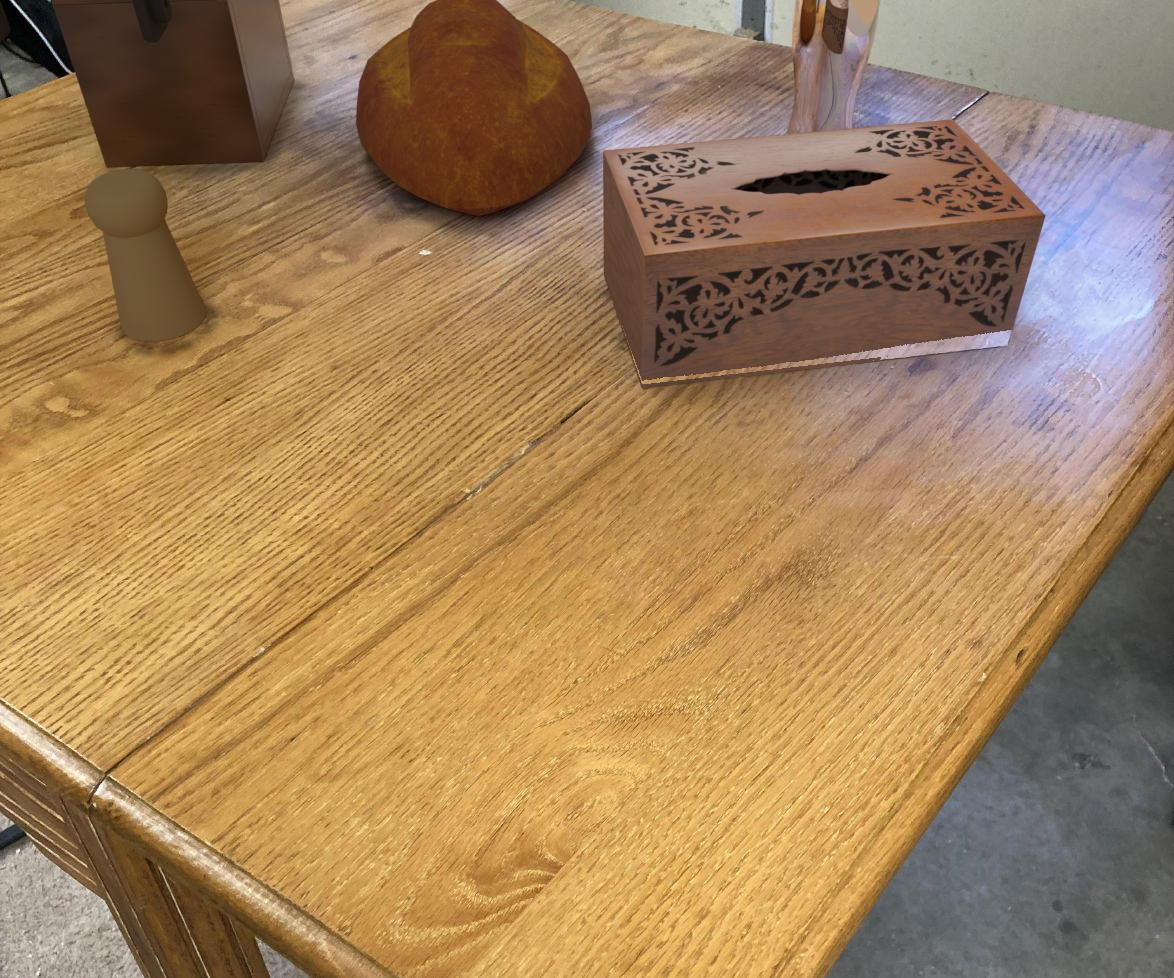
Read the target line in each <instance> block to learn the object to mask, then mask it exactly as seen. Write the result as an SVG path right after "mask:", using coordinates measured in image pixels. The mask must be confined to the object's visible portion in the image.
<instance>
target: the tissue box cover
mask: <svg viewBox="0 0 1174 978" xmlns="http://www.w3.org/2000/svg"><path fill="white" fill-rule="evenodd" d="M602 205H603V206H602V207H603V208H602V210H603V211H602V213H603V215H602V219H603V220H602V222H603V223H602V224H603V225H602V226H603V230H602V232H603V235H602V236H603V277H604V280H605V283H606V287H607V289H608V292H609V295H610V297H611V301H612V304H613V307H614V310H615V313H616V316H617V318H618V321H619V325H620V327H621V331H622V333H623V337H624V339H625V342H626V345H627V348H628V352H629V354H630V356H631V360H632V363H633V366H634V369H635V372H636V375H637V378H638V382H639V384H640V386H641V389H644V388H645V389H647V388H655V387H662V386H671V385H673V386H674V385H680V384H690V383H699V382H708V381H717V380H725V379H733V378H742V377H743V378H744V377H751V376H760V375H768V374H777V373H787V372H795V371H803V370H812V369H813V370H814V369H820V368H821V369H822V368H830V367H840V366H849V365H854V364H855V365H856V364H865V363H874V362H881V361H880V359H881V357H877V358H869V359H860V360H851V361H843V362H834V363H825V364H817V365H808V366H799V367H790V368H782V369H773V370H764V371H756V372H747V373H738V374H729V375H721V376H712V377H703V378H695V379H686V380H677V381H668V382H660V383H651V384H642V383H641V380H640V377H639V374H640V376H641V379H642V381H644V380H646V379H647V380H652V379H657V378H659V379H660V378H663V377H676V376H684V375H685V376H689V375H691V374H693V375H696V374H704V373H707V374H708V373H711V372H718V371H723V370H731V369H742V368H748V367H751V368H752V367H759V366H761V367H763V366H767V365H775V364H780V363H786V362H799V361H805V360H814V359H819V358H825V357H826V358H828V357H833V356H839V355H844V354H845V355H847V354H852V353H859V352H862V351H863V352H865V351H870V350H872V351H873V350H878V349H883V348H891V347H895V346H900V345H901V346H903V345H905V344H906V345H907V344H915V343H922V342H924V343H925V342H929V341H937V340H938V341H939V340H941V339H942V340H944V339H948V338H949V339H951V338H955V337H962V336H963V337H965V336H974V335H978V334H980V335H981V334H985V333H986V334H987V333H991V332H992V333H994V332H1000V331H1007V330H1012V331H1014V326H1015V325H1016V324H1015V323H1016V320H1017V316H1018V313H1019V309H1020V306H1021V302H1022V299H1023V297H1024V296H1023V295H1024V292H1025V289H1026V285H1027V282H1028V278H1029V275H1030V271H1031V269H1032V264H1033V261H1034V257H1035V255H1036V251H1037V247H1038V244H1039V241H1040V238H1041V237H1040V236H1041V234H1042V229H1043V227H1044V224H1045V223H1044V222H1045V220H1046V214H1045V213H1044V212H1043V211H1042V209H1041V208H1039V206H1037V204H1035V202H1034V201H1033V200H1032V199H1031V198H1030V197H1029V196H1028V195H1027V194H1026V193H1025V192H1024V191H1023V189H1021V188H1020V186H1018V185H1017V183H1015V182H1014V180H1012V178H1010V176H1009V175H1008V174H1007V173H1006V172H1005V171H1004V170H1003V169H1002V168H1001V167H1000V166H999V165H998V164H997V163H996V162H995V161H994V159H992V158H991V157H990V156H989V154H987V153H986V152H985V151H984V150H983V148H982V147H980V146H979V144H978V143H977V142H976V141H975V140H974V139H973V138H972V137H971V136H970V135H969V134H968V133H967V132H966V131H965V130H964V129H963V128H962V126H961V125H959V123H958V122H957V121H955V120H954V119H953V118H952V119H942V120H941V119H940V120H931V121H919V122H908V123H895V124H887V125H873V126H864V127H863V126H862V127H854V128H850V129H839V130H828V131H816V132H805V133H794V134H786V133H784V134H773V135H763V136H762V135H761V136H751V137H740V138H739V137H738V138H728V139H716V140H707V141H706V140H705V141H695V142H684V143H671V144H660V145H650V146H649V145H648V146H637V147H628V148H627V147H626V148H617V149H616V148H615V149H606V150H602ZM622 326H623V327H622ZM623 329H624V330H623ZM624 332H625V333H624ZM625 334H626V336H625ZM626 337H627V339H626ZM627 340H628V342H627ZM628 343H629V345H628ZM629 346H630V348H631V351H632V354H633V356H634V359H635V362H636V365H637V368H638V370H639V374H638V371H637V368H636V366H635V363H634V360H633V357H632V354H631V351H630V348H629ZM887 357H888V356H887ZM873 360H874V361H873ZM885 361H888V360H887V359H886V360H885Z"/></svg>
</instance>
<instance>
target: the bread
mask: <svg viewBox="0 0 1174 978" xmlns="http://www.w3.org/2000/svg"><path fill="white" fill-rule="evenodd" d="M592 116H593V115H592V110H591V104H590V100H589V97H588V95H587V93H586V91H585V88H584V86H583V82H582V80H581V79H580V77H579V75H578V72H577V71H576V69H575V67H574V65H573V63H572V61H571V59H570V57H569V56H568V54H566V53H565V51H563V50H562V49H561V48H560V47H559V46H557V44H555V43H554V42H553V41H551V40H550V39H548V38H547V37H546V36H545V35H543V34H542V33H540V32H539V31H537V30H536V29H535V28H533V27H531V26H530V25H528V24H526V23H524V22H523V21H522V20H520V19H518V18H517V17H516V16H515V15H514V14H513V13H511V11H509V10H508V8H506V7H505V6H504V5H503V4H501V3H500V2H499V1H498V0H433V1H430V2H428V3H427V5H426V6H424V7H423V8H422V10H420V11H419V12H418V13H417V14H416V16H415V18H414V20H413V22H412V24H411V26H410V27H408V28H406V29H404V30H403V31H402V32H400V33H399V34H396V35H395V36H394V37H392V38H391V39H390V40H389V41H388V42H386V43H385V44H384V45H382V46H381V47H380V48H379V49H378V50H377V51H376V52H375V53H373V54H372V55H371V56H370V57H369V58H368V59H367V60H366V64H365V66H364V69H363V70H362V73H361V76H360V79H359V81H358V89H357V99H356V111H355V127H356V131H357V135H358V139H359V142H360V145H361V146H362V148H363V149H364V150H365V152H366V154H367V155H368V156H369V158H370V159H371V160H372V161H373V163H374V164H375V165H376V166H377V167H378V168H379V169H380V170H381V172H382V173H383V174H384V175H385V176H386V177H388V179H390V180H391V181H392V182H393V183H395V185H396V186H398V187H400V188H401V189H403V190H405V191H407V192H408V193H411V194H412V195H414V196H416V197H417V198H420V199H422V200H425V201H427V202H429V203H432V204H435V205H437V206H440V207H442V208H444V209H445V208H446V209H449V210H453V211H457V212H460V213H464V214H468V215H472V216H475V217H480V216H485V215H490V214H493V213H496V212H498V211H501V210H504V209H507V208H510V207H512V206H515V205H518V204H521V203H523V202H525V201H527V200H528V199H530V198H532V197H534V196H536V195H537V194H539V193H540V192H542V191H544V189H546V188H547V187H549V186H550V185H552V184H553V183H554V182H556V181H558V180H559V179H560V178H562V177H563V176H564V174H565V173H566V172H567V171H568V170H569V169H570V167H571V166H572V165H573V164H574V163H575V162H576V161H577V160H578V158H579V157H580V156H581V154H582V153H583V151H584V149H585V147H586V146H587V144H588V142H589V140H590V139H591V134H592V129H593V117H592Z"/></svg>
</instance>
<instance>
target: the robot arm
mask: <svg viewBox="0 0 1174 978" xmlns="http://www.w3.org/2000/svg"><path fill="white" fill-rule="evenodd" d="M132 2H133V5H134V9H135V12H136V16H137V19H138V22H139V26H140V29H141V33H142V36H143V39H144V40H145V41H147V42H148V43H157V42H158V41H159V39H160V38H161V36H162V35H163V33H164V32H165V30H166V29H167V27H168V23H169V22H170V21H171V19H172V9H171V5H170V1H169V0H132ZM10 33H11V26H10V23H9V20H8V18H7V15H6V13H5V10H4V7H3V4H2V1H1V0H0V44H1V43H2V42H3V41H4V40H5V39H6V38H7V37H8V36H9V34H10Z"/></svg>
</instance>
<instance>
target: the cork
mask: <svg viewBox="0 0 1174 978" xmlns="http://www.w3.org/2000/svg"><path fill="white" fill-rule="evenodd" d="M168 200H169V199H168V195H167V192H166V190H165V188H164V187H163V185H162V183H161V182H160V180H159V179H158V178H157V177H156V176H154V174H152V173H150V172H148V171H146V170H141V169H137V168H121V169H115V170H111V171H107V172H105V173H103V174H101V175H99V176H97V177H96V178H94V179H93V180H91V181H90V183H89V184H88V185H87V187H86V190H85V194H84V207H85V211H86V213H87V215H88V217H89V220H90V221H91V222H92V223H93V225H94V226H95V228H97V229H98V230H100V231H101V232H102V234H103V240H104V244H105V251H106V255H107V262H108V266H109V272H110V277H111V282H112V289H113V294H114V298H115V303H116V309H117V310H116V311H117V315H118V320H119V325H120V328H121V330H122V333H123V334H124V335H125V336H127V337H129V338H130V339H133V340H136V341H140V342H156V343H157V342H163V341H169V340H173V339H176V338H179V337H183V336H184V335H187V334H188V333H190V332H192V331H193V330H195V329H196V328H197V327H198V326H200V325H201V324H202V323H203V321H204V320H205V318H206V317H207V308H206V306H205V303H204V301H203V299H202V296H201V295H200V293H199V290H198V288H197V286H196V283H195V282H194V279H193V278H192V275H191V272H190V270H189V268H188V267H187V264H186V262H185V260H184V257H183V256H182V253H181V251H180V249H179V247H178V244H177V242H176V239H175V237H174V236H173V234H172V232H171V230H170V227H169V225H168V223H167V221H166V216H167V214H168V202H169V201H168Z"/></svg>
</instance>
